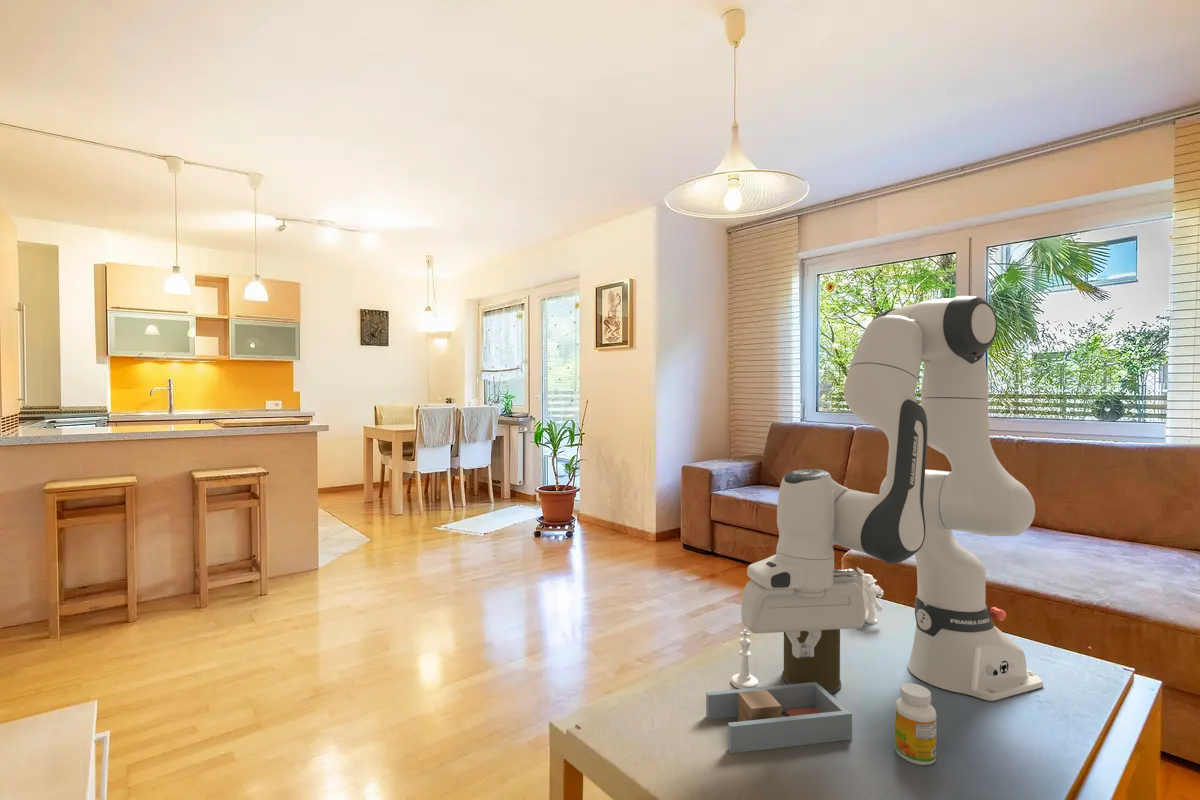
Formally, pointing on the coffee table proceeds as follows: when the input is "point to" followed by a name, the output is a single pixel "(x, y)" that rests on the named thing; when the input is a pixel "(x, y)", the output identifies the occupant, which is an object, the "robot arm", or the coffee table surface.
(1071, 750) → the coffee table surface
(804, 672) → the canister
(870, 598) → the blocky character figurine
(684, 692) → the coffee table surface
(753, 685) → the chess piece
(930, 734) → the supplement bottle
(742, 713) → the walnut cube
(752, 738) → the channel
